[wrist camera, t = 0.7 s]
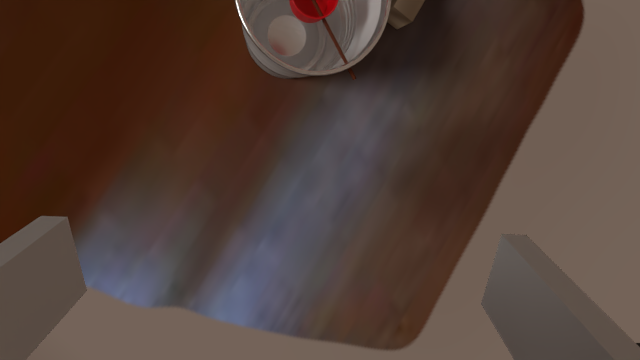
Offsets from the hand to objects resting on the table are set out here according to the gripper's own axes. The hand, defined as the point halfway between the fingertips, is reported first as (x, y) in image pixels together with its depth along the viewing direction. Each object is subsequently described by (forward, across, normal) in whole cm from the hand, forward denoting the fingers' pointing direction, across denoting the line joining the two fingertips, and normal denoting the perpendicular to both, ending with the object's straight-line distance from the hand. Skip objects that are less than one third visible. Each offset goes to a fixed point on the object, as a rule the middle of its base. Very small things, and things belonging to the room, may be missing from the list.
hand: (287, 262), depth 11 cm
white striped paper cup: (+23, -2, +6) cm, 24 cm away
